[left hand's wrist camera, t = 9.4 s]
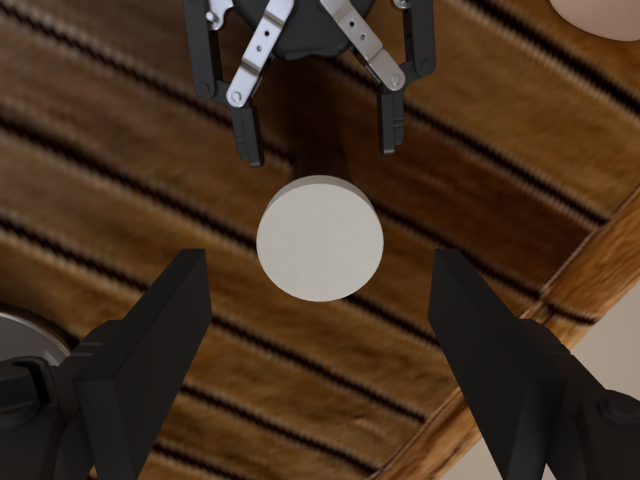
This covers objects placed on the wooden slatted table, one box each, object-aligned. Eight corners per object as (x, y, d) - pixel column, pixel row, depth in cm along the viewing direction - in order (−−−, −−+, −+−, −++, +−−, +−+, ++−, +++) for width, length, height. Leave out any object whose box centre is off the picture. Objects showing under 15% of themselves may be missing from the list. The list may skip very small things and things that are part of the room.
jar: (331, 207, 34) (340, 302, 19) (283, 183, 33) (253, 262, 18) (357, 159, 33) (389, 221, 18) (307, 133, 32) (296, 174, 17)
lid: (343, 301, 20) (345, 319, 19) (243, 255, 20) (236, 270, 18) (399, 208, 19) (407, 219, 17) (293, 153, 18) (290, 159, 16)
